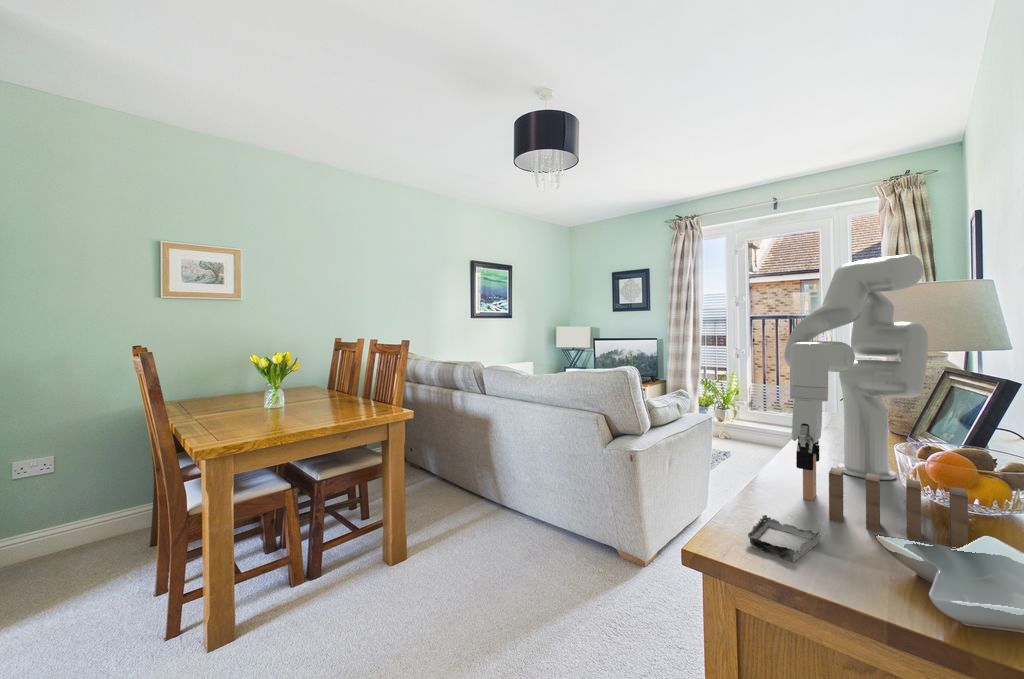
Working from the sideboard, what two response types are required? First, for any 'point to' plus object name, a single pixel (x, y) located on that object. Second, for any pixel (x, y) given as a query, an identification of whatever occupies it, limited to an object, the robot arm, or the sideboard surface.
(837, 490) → the domino
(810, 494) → the domino
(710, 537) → the sideboard surface
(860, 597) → the sideboard surface
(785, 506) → the sideboard surface
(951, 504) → the domino
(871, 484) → the domino
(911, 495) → the domino
